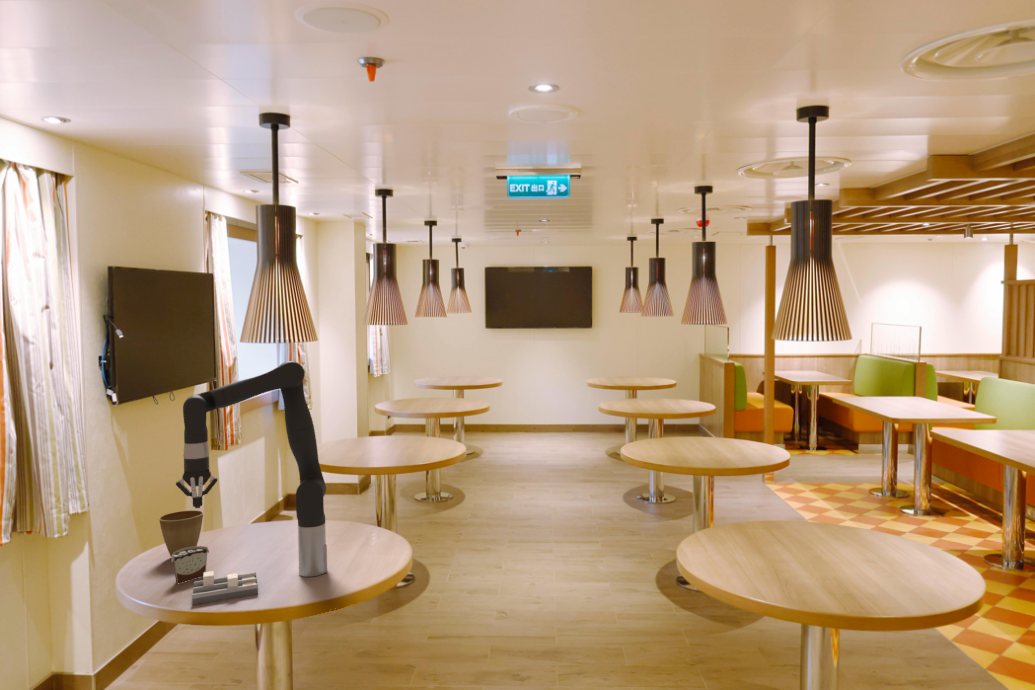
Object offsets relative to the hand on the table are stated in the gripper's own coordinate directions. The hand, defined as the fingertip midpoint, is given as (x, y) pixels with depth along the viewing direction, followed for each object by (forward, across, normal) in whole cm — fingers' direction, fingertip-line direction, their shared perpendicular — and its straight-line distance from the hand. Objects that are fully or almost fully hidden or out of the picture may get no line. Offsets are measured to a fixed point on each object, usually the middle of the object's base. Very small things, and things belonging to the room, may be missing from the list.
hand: (197, 507), depth 213 cm
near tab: (+25, -10, +11) cm, 29 cm away
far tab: (+25, -3, +5) cm, 26 cm away
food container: (+27, +4, -12) cm, 30 cm away
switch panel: (+27, -8, +8) cm, 29 cm away
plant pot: (+27, +7, -38) cm, 47 cm away
